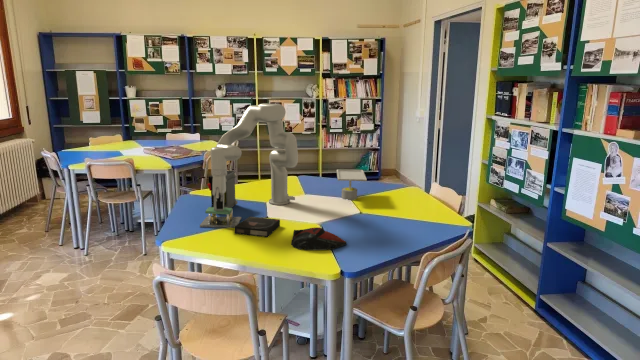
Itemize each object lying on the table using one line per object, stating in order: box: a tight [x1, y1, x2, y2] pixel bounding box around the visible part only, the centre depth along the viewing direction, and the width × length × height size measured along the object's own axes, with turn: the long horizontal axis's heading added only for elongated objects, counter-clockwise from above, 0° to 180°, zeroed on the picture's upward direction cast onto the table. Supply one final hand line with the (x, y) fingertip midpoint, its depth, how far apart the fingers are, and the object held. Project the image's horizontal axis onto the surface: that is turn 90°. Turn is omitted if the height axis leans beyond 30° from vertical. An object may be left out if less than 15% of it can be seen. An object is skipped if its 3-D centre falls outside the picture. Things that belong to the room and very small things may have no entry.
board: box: [204, 194, 233, 215], centre depth 218 cm, size 12×7×9 cm, turn 90°
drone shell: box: [290, 227, 348, 251], centre depth 192 cm, size 21×20×8 cm
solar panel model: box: [336, 169, 368, 201], centre depth 269 cm, size 28×17×15 cm, turn 179°
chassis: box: [199, 208, 242, 229], centre depth 219 cm, size 18×14×6 cm
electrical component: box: [207, 170, 238, 208], centre depth 242 cm, size 18×10×20 cm, turn 168°
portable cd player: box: [233, 216, 281, 238], centre depth 210 cm, size 16×17×4 cm
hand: (220, 207), depth 218 cm, fingers closed on board, 3 cm apart
